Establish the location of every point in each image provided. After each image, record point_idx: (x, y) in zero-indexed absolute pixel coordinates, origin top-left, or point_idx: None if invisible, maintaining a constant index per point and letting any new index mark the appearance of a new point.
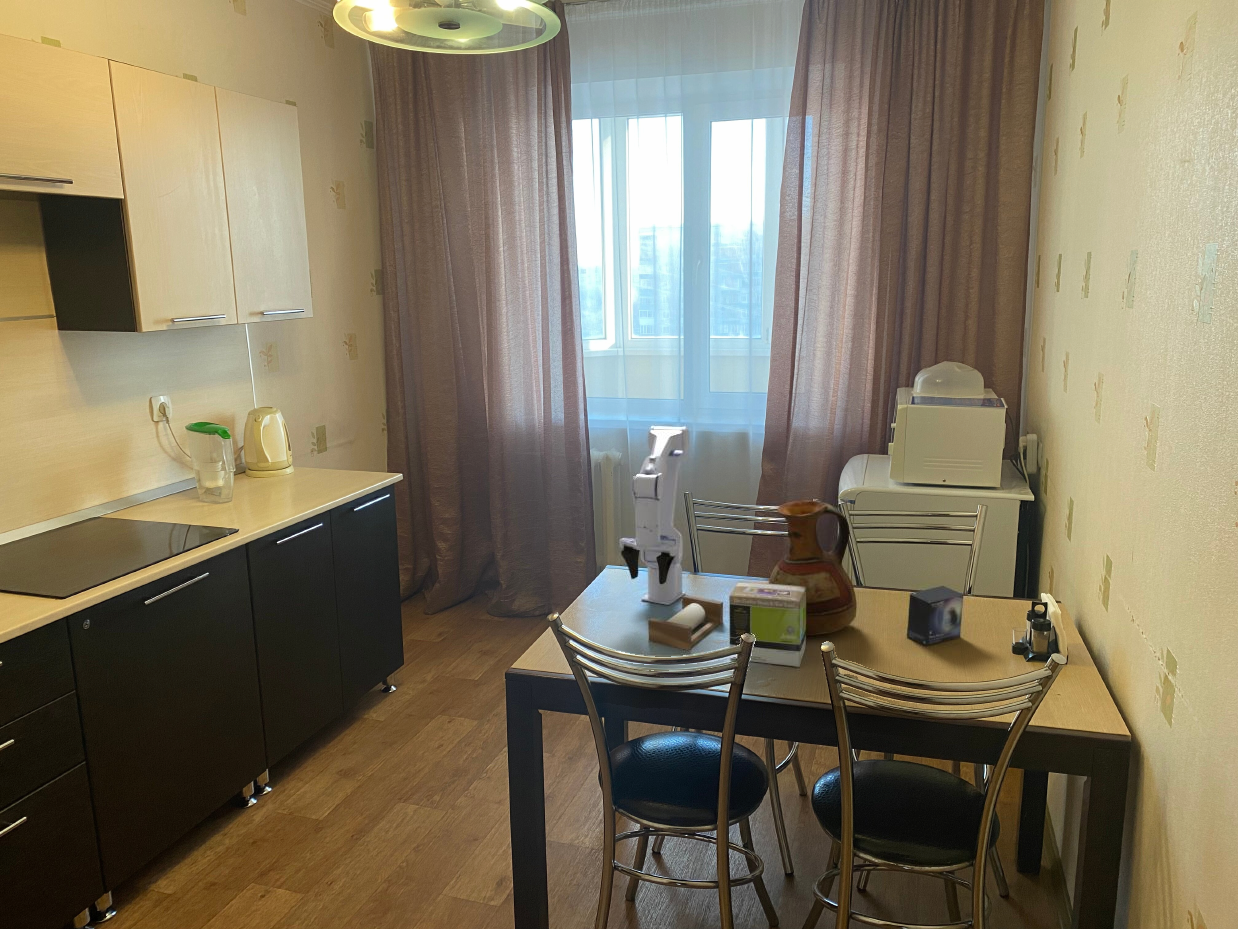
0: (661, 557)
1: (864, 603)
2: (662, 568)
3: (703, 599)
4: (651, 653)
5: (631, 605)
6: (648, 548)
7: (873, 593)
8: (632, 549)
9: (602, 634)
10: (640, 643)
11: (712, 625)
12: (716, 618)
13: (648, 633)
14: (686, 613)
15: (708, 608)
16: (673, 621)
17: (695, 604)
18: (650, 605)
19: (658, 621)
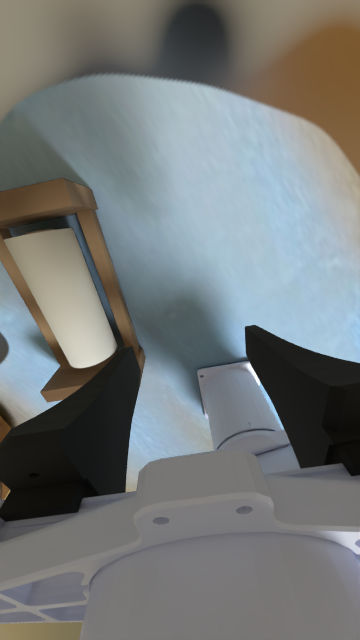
0: (20, 456)
1: None
2: (78, 391)
3: None
4: (18, 117)
5: None
6: (118, 524)
7: None
8: (339, 453)
9: (220, 136)
10: (96, 160)
11: (48, 340)
12: (66, 366)
13: (82, 186)
14: (47, 310)
15: (75, 375)
16: (13, 237)
17: (80, 363)
18: (227, 352)
19: (30, 194)
